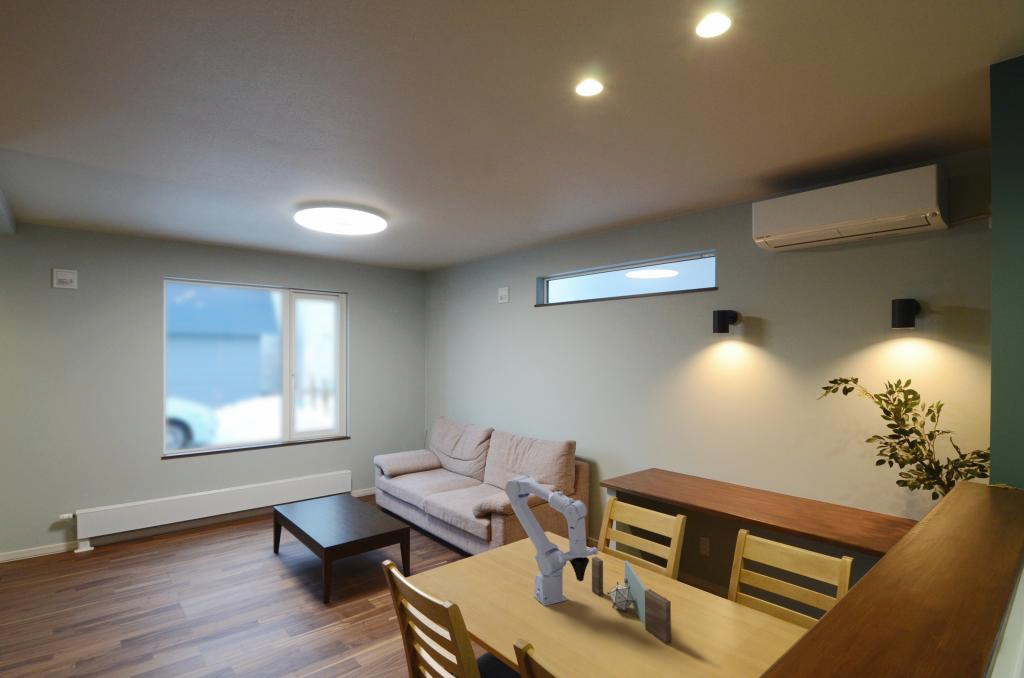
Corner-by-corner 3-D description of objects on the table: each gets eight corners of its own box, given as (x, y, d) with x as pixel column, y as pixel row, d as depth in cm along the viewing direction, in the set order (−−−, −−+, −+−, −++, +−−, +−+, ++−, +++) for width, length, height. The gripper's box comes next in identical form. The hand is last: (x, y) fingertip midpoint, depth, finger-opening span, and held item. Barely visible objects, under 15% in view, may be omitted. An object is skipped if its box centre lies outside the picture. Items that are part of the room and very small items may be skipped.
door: (642, 627, 159) (642, 591, 159) (622, 591, 183) (622, 560, 183) (648, 627, 159) (648, 591, 160) (627, 591, 183) (627, 560, 183)
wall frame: (665, 644, 150) (665, 602, 151) (592, 591, 184) (591, 557, 184) (671, 642, 151) (670, 601, 151) (596, 590, 185) (596, 556, 185)
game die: (620, 623, 169) (610, 605, 165) (609, 602, 177) (599, 585, 173) (643, 609, 170) (633, 591, 166) (631, 589, 177) (622, 571, 173)
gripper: (565, 545, 166) (568, 589, 165) (601, 537, 172) (604, 579, 171) (554, 540, 172) (557, 581, 171) (590, 532, 179) (592, 572, 178)
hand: (580, 580), depth 172 cm, fingers closed
